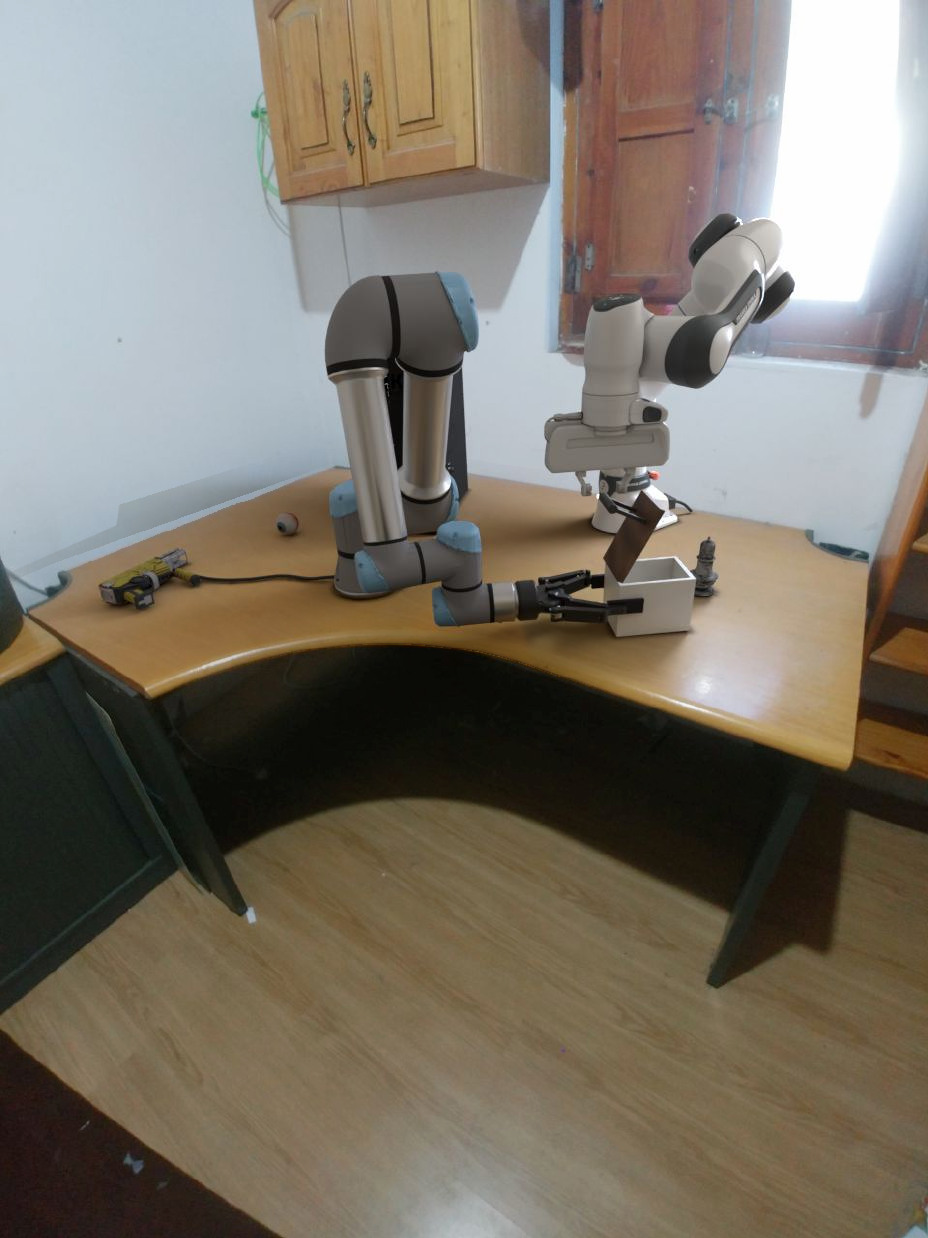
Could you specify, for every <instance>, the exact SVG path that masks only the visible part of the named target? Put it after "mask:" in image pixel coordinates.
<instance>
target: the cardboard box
mask: <svg viewBox="0 0 928 1238" xmlns="http://www.w3.org/2000/svg"><path fill="white" fill-rule="evenodd" d="M387 365H388V371H389V372H388V373H387V375H386V376H385V378H384V387H385V394H386V400H387V407H388V413H389V420H390V426H391V433H392V439H393V446H394V452H395V459H396V465H397V471H398V469H399V468H400V467H401V466H403V407H404V371H403V370H402V369H401V368H400V367H399V366H398V365H397V363H396V360H395V358H387ZM463 375H464V374H463V366H462V367H461V369H460V370H459V371H458V372H457V373H455V374H454V375H453V380H452V392H451V404H450V415H449V427H448V439H447V450H446V462H445V469H446V470H447V471H448V472H449V474H450V475H451V476H452V477H453V478H454V480H455V482H456V485H457V489H458V496H459V498H458V502H459V503H460V502H461V500H462V499H463V497H464V496H465V495H466V493H467V491H468V490H469V479H468V477H469V476H468V457H467V455H468V454H467V439H466V437H467V436H466V418H465V417H466V415H465V399H464V397H465V396H464V395H465V394H464V377H463ZM419 535H437V531H434V532H433V531H432V532H426V533H419Z"/></svg>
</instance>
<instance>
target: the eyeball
mask: <svg viewBox="0 0 928 1238" xmlns="http://www.w3.org/2000/svg"><path fill="white" fill-rule="evenodd" d="M299 525H300V522H299V519H298V517H297V516H296V515H295V514H294V513H292V512H287V511H286V512H282V513H280V514H279V515H278V516H277V517H276V520H275V527H276V529H277V530H278V531H279V532H280V533H281V534H282V535H285V536H286V535H287V536H289V535H293V534H295V533H296V532H297V531H298V529H299Z"/></svg>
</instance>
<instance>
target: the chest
mask: <svg viewBox="0 0 928 1238" xmlns="http://www.w3.org/2000/svg"><path fill="white" fill-rule="evenodd" d="M604 574H605V577H604V588H603V596H602V597H603V598H602V599H603V600H602V603H606V604H607V601H608V600H621V599H634V598H643V599H644V606H643V613H635V614H624V615H612V616H608V619H607V623H608V624H609V626H610V628H611V629H612V631H613V633H614V635H615V637H616V638H619V637H630V636H640V635H641V636H643V635H652V634H653V635H654V634H662V633H663V634H665V633H676V632H686V631H690V627H691V621H692V613H693V612H692V611H693V605H694V598H695V595H694V592H695V585H696V578H695V577H694V576H693V575H692V574H691V572H690V570H689V569H688V567H686V566H685V564H684V563H683V562H682V561H681V560H680V558H679V557H678V556H677V555H671V556H660V557H649V558H637V560H636V562H635V563H634V565H633V567H632V569H631V570H630V572H629V574H628V575H627V577H626V579H625V580H624V582H623V583H620V582H617V580H616V579H615V577H614V576H613V574H612V572H611V571H610V569H609V567H608V566H607V564H606V562H605V561H604Z"/></svg>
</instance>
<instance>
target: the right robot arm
mask: <svg viewBox="0 0 928 1238" xmlns="http://www.w3.org/2000/svg"><path fill="white" fill-rule="evenodd" d="M786 245H787V239H786V234H785V231H784V229H783V228H782V226H781V225H780V224H779V223H778V222H776V221H775V220H773V219H771V218H766V217H759V218H755V219H751V220H749V221H747V222H745V223H742V219H741V218H739V217H738V216H735V215H734V214H732V213H729V212H726V213H719V214H718V215H716V216H715V217H713V218H712V219H710V220H708V222H706V223H705V224H704V225H703V226H702V227H701V228H700V229H699V230H698V231H697V233H696V235H695V236H694V238H693V240H692V243H691V245H690V247H689V248H688V258H687V259H688V261H689V263H690V265H691V266H692V268H693V270H692V273H691V280H690V289H691V290H689V291H688V292H687V293H686V295H684V296H683V297H682V298H681V300H680V301H678V303H677V304H676V305H675V306H674V307H673V308H672V309H671V310H670V312H669V313H668V314H667V315H659V314H657V315H656V314H655V313H653V312H651V311H649V310H648V309H647V308H646V307H645V306H644V305H645V304H644V300H643V296H642V295H640V294H636V293H630V292H629V293H627V292H626V293H624V292H623V293H616V294H613V295H611V294H610V295H608V296H607V295H606V296H604V297H602V298H600V299H598V300H596V302H594V303H593V304H592V305H591V306H590V310H589V312H588V316H587V319H586V320H587V321H586V327H585V334H584V343H583V344H584V345H583V359H582V360H583V367H584V380H583V385H582V387H581V407H580V411H576V412H568V413H561V412H560V413H555V414H553V416H551V417H549V418H548V419H547V420H546V422H545V423H544V426H543V427H544V428H543V429H544V430H543V433H544V434H543V436H544V440H545V441H546V443H545V451H544V466H545V468H546V469H547V471H548V472H550V473H551V474H563V473H564V474H565V473H574V475H575V477H576V479H577V480H578V482H579V484H580V495H581V496H582V497H591V496H592V495H593V492H592V491H593V486H592V485H591V483H588V482H587V483H586V482H585V479H584V478H586V477H587V472H593V471H599V474H598V492H599V493H598V494H596V499H597V502H596V507H595V511H594V514H593V517H592V520H591V525H592V526H593V527H594V528H595V529H597V530H599V531H601V532H605V533H611V534H617V532H618V530H619V529H620V527H621V525H622V523H623V521H624V520H625V518H626V517H625V516H623V515H620V514H618V513H614V514H610V513H609V512H608V511H607V509H606V508H605V507H604V505H603V504H602V503H601V501H600V500H599V495H600V494H601V493H606V494H607V495H608V496H609V497H610V498H612V499H614V500H617V501H619V502H622V503H624V504H627V505H629V506H632V505H633V504H634V502H635V500H636V498H637V497H638V495H639V493H640V491H641V490H643V491H646V492H647V493H648V494H649V495H650V496H651V497H652V498H653V499H654V500H655V501H656V502H657V503H658V504H659V505H660V506H661V507H662V508H663V509H664V510H665V513H664V515H663V516H662V518H661V520H660V521H659V523H658V525H657V526H656V528H655V530H654V531H653V532H655V531H657V530H660V529H662V528H665V527H668V526H670V525H672V524H675V523H677V522H678V516H677V515H676V514H675V513H674V512H672V511H670V510H675V509H676V504H678V505H681V506H683V507H684V508H686V510H687V511H688V512H689V513H692V512H693V511H694V510H693V509H692V508H691V507H690V506H689V504H687V503H685V502H684V501H682V500H678V499H677V498H675V497H674V496H671V495H670V494H669V493H666V492H664V493H663V492H661V491H660V490H659V489H658V488H656V487H655V486H654V485H652V483H651V480H653V481H658V479H659V478H660V473H659V472H657V471H654V470H651V471H649V470H648V469H647V468H649V467H663V466H664V465H666V463H667V462H668V460H669V458H670V453H671V451H670V449H671V433H670V427H669V426H668V424H667V423H665V422H666V421H667V420H668V418H669V410H668V408H666V407H665V406H664V405H663V404H660V403H659V402H657V398H658V397H659V396H660V395H661V394H662V393H663V392H664V391H665V390H666V389H667V388H668V387H669V386H670V385H676V386H679V387H684V388H689V389H693V390H698V389H703V388H704V387H705V386H707V385H709V383H712V381H714V380H715V379H716V378H717V377H718V376H719V375H720V374H721V373H722V371H723V370H724V368H725V366H726V364H727V361H728V359H729V357H730V355H731V352H732V350H733V349H734V347H735V346H736V344H737V342H738V341H739V339H740V338H741V337H742V336H743V334H744V332H745V331H746V330H747V327H748V326H749V325H761V324H763V323H764V322H767V321H769V320H772V319H773V318H774V317H776V316H778V315H779V314H780V313H781V312H783V310H784V309H785V308H786V306H787V305H788V304H789V303H790V301H791V299H792V297H793V294H794V292H795V291H796V290H797V289H796V288H797V284H798V283H797V279H796V277H795V275H794V274H793V272H792V270H791V269H790V268H788V269H787V267H786V265H785V264H784V262H783V261H782V259H783V258H784V255H785V252H786V247H787V246H786ZM616 506H617V505H616ZM617 508H619V509H621V510H624V511H626V512H629V510H627V509H624V508H622V507H619V506H617Z"/></svg>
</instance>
